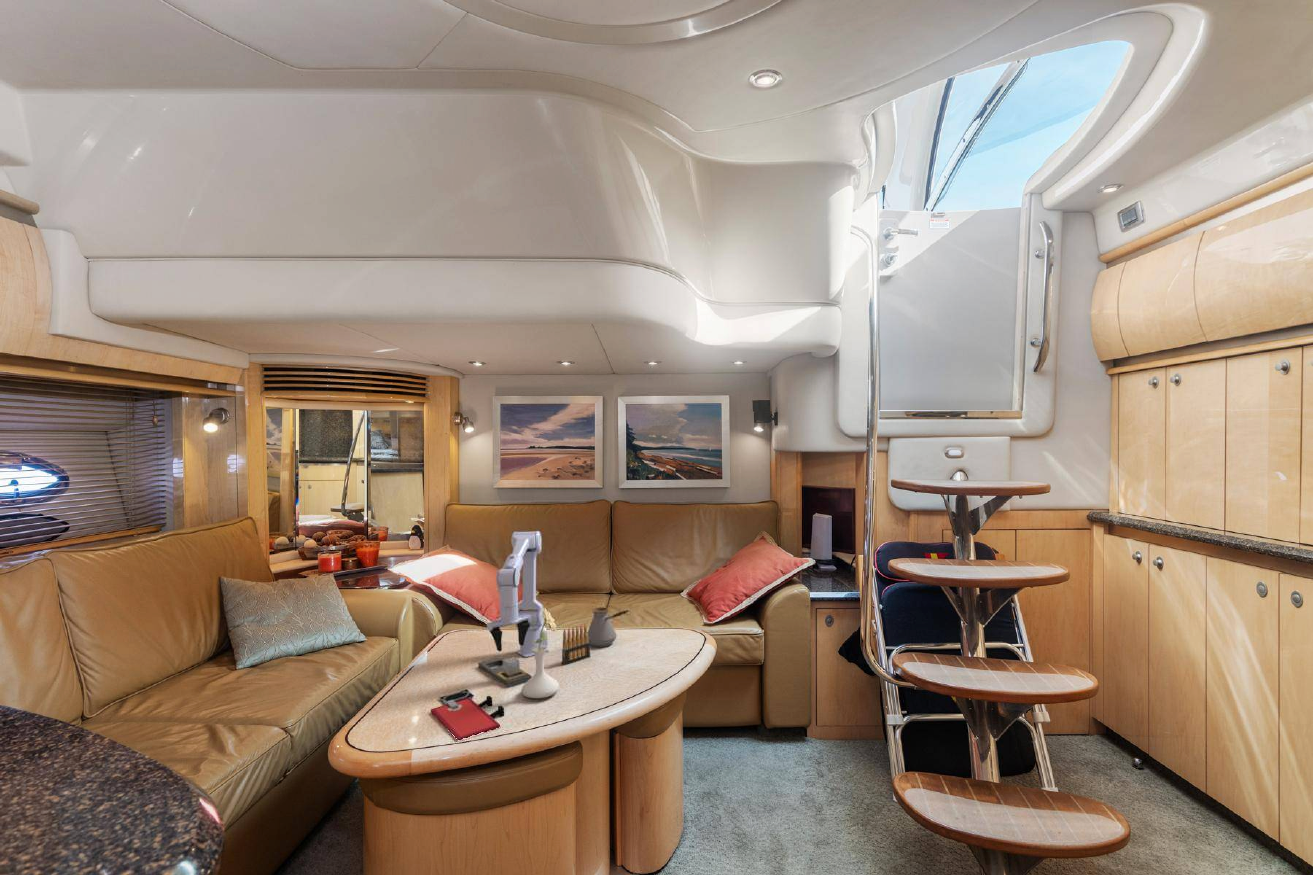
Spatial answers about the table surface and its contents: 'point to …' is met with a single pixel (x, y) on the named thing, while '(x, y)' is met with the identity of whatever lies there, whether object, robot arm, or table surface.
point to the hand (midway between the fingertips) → (510, 647)
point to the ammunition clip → (575, 645)
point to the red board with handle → (466, 715)
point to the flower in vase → (541, 667)
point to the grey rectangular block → (511, 667)
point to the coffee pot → (602, 627)
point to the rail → (498, 672)
